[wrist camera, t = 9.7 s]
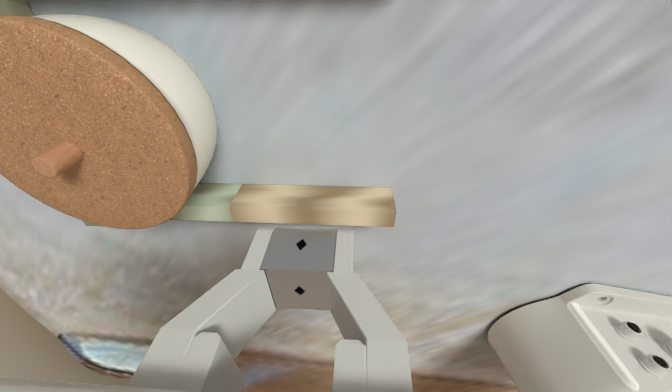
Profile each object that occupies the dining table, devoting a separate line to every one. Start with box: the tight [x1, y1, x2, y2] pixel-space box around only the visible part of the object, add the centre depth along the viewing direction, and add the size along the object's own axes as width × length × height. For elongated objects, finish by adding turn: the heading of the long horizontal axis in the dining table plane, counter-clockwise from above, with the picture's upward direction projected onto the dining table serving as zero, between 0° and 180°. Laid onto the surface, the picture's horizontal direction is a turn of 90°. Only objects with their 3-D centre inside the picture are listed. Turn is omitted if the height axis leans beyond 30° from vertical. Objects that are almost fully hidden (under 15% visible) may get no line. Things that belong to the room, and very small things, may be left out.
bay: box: [0, 0, 396, 227], centre depth 18 cm, size 24×18×4 cm
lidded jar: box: [0, 14, 217, 229], centre depth 16 cm, size 11×11×9 cm
